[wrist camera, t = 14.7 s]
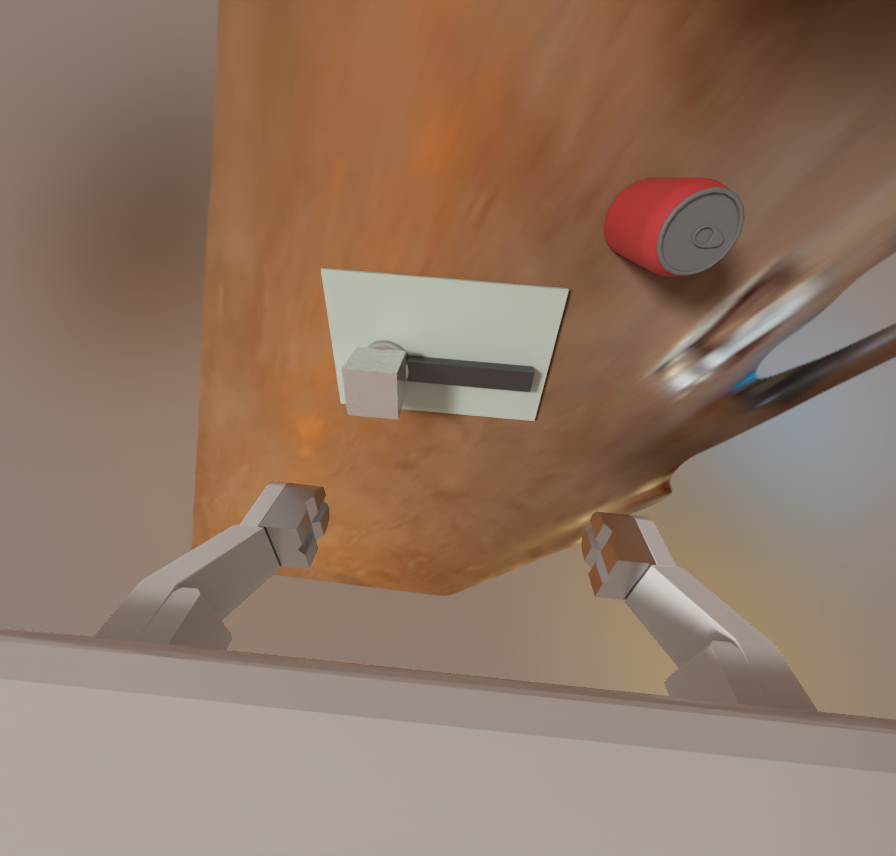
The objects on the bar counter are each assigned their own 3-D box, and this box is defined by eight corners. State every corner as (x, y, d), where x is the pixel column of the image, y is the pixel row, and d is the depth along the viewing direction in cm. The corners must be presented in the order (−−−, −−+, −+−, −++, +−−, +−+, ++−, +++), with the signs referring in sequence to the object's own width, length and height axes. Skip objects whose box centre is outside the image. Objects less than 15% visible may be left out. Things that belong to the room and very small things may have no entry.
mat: (322, 267, 39) (320, 268, 38) (567, 288, 38) (569, 289, 38) (342, 401, 49) (340, 403, 49) (533, 418, 49) (534, 421, 48)
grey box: (357, 346, 41) (341, 368, 36) (406, 350, 41) (396, 373, 36) (361, 389, 45) (347, 414, 40) (406, 393, 45) (398, 419, 40)
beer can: (646, 263, 36) (707, 293, 27) (589, 244, 36) (631, 268, 26) (688, 191, 32) (778, 195, 23) (625, 168, 32) (690, 163, 22)
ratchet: (360, 338, 43) (347, 355, 39) (535, 353, 42) (542, 372, 38) (364, 382, 47) (353, 402, 42) (525, 397, 46) (530, 418, 42)
